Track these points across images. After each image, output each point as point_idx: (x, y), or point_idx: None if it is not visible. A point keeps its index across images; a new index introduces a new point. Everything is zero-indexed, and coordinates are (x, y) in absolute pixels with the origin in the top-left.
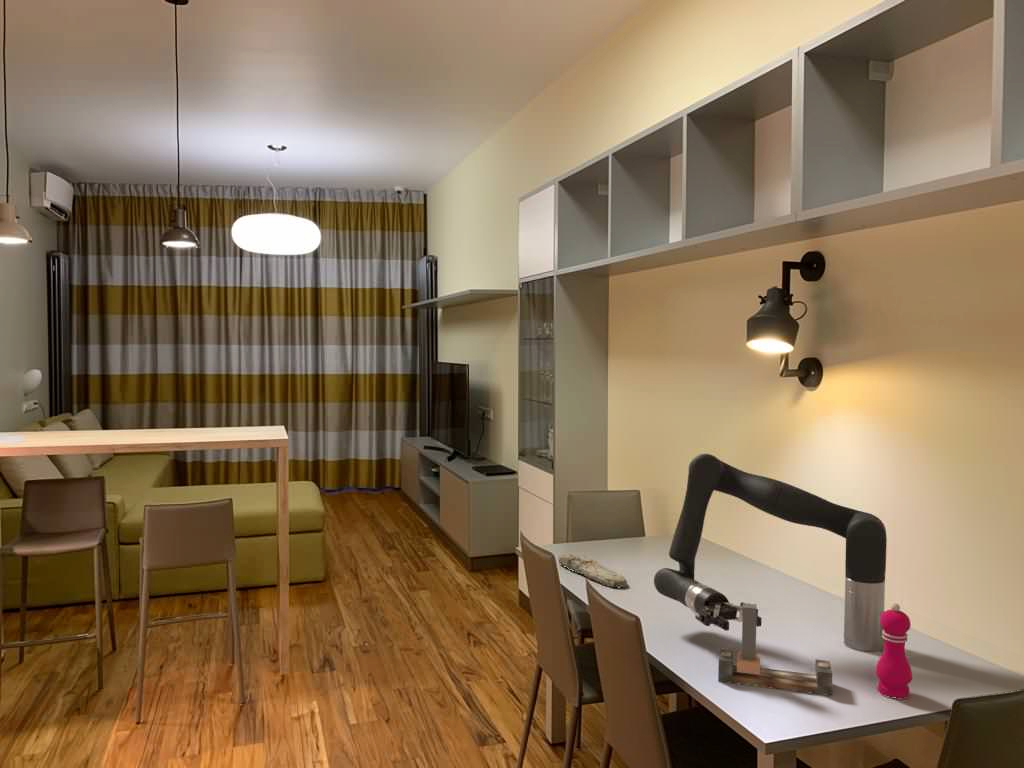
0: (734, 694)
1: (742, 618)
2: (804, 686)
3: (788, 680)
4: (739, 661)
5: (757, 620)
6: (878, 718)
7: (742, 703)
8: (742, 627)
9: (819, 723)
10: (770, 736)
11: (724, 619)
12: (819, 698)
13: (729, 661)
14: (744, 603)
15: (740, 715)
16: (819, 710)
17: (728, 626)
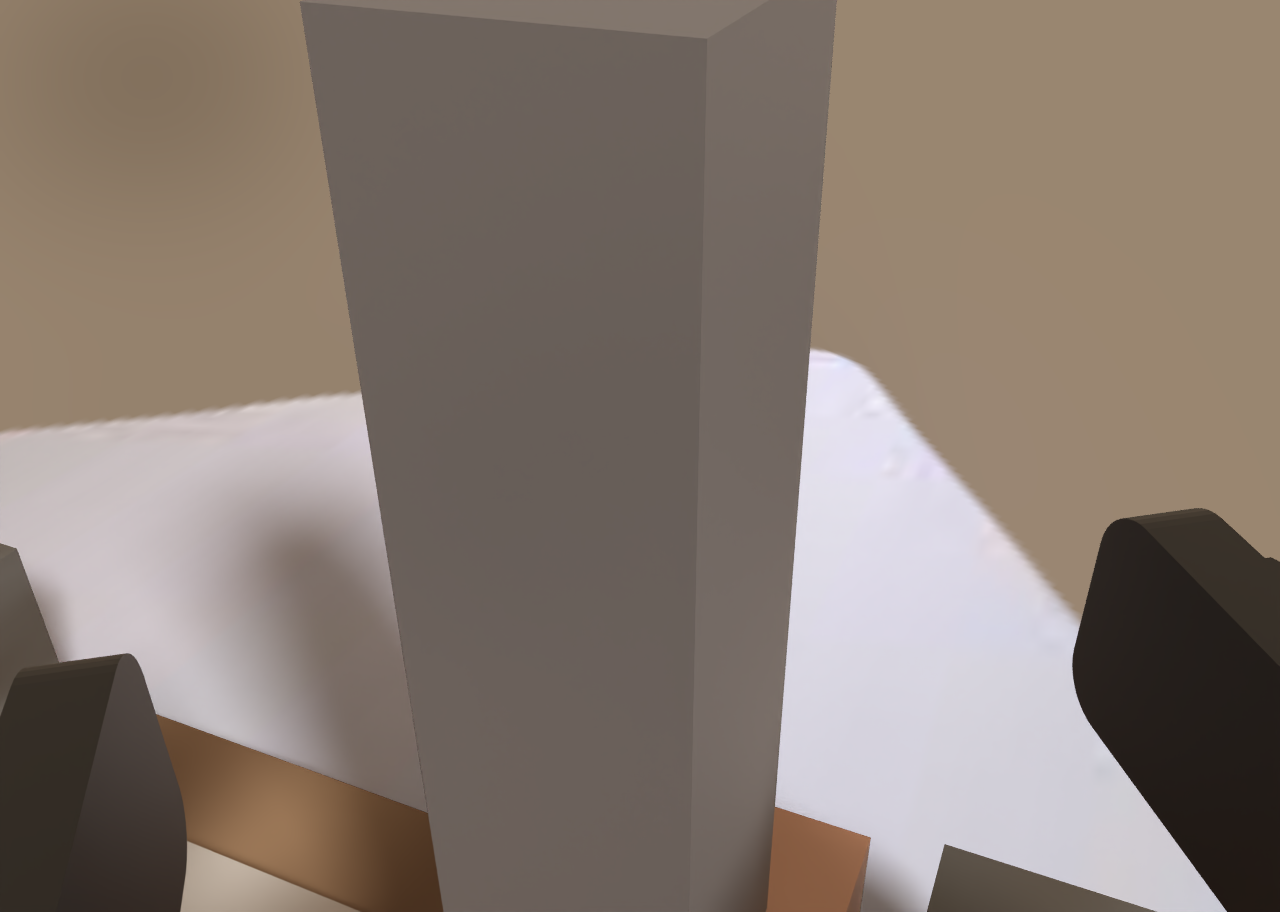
0: (931, 787)
1: (816, 255)
2: (164, 724)
3: (235, 830)
4: (830, 833)
5: (144, 739)
6: (13, 443)
7: (890, 644)
8: (798, 445)
9: None
10: (817, 361)
11: (1257, 608)
12: (144, 666)
13: (988, 860)
14: (663, 28)
15: (949, 515)
16: (314, 530)
17: (1104, 595)
